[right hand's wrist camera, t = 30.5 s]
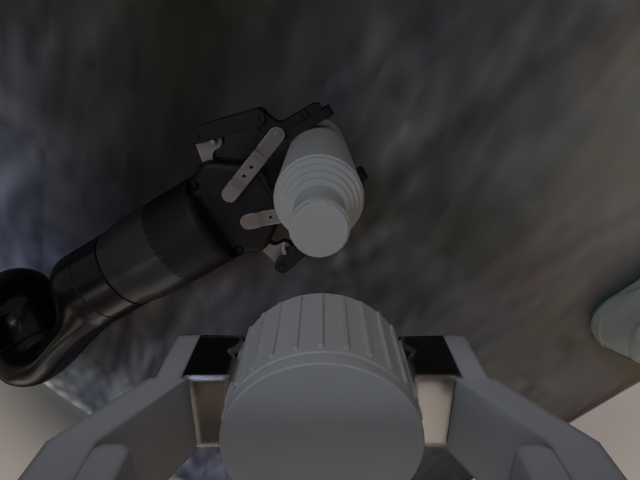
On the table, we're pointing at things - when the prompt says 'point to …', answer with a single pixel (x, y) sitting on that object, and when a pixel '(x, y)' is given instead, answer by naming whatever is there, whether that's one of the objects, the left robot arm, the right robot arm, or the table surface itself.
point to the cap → (321, 397)
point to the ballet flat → (619, 322)
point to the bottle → (319, 191)
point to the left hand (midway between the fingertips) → (347, 141)
